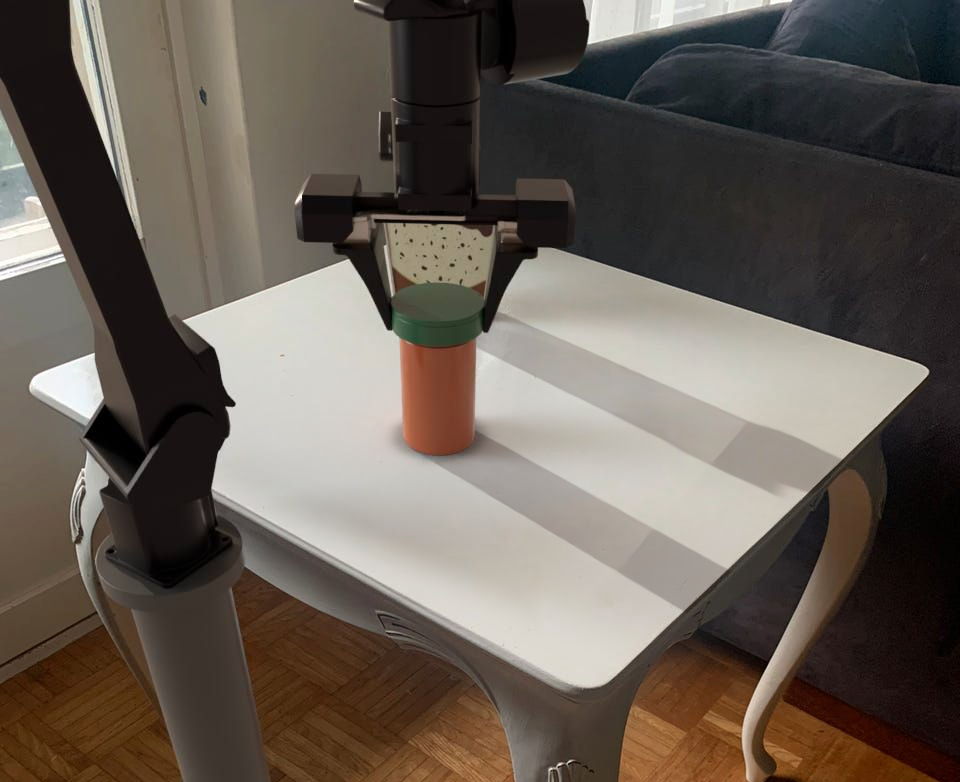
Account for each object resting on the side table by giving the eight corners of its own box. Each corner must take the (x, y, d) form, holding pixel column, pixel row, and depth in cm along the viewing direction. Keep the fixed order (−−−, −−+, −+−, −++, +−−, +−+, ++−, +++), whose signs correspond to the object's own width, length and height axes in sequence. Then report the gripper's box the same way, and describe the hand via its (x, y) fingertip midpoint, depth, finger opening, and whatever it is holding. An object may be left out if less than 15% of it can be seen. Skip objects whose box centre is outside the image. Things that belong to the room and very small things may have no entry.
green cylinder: (486, 307, 73) (486, 283, 72) (484, 348, 68) (484, 323, 67) (395, 305, 73) (394, 280, 72) (387, 345, 68) (386, 320, 67)
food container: (516, 300, 97) (521, 197, 90) (497, 324, 93) (501, 218, 86) (404, 281, 100) (401, 180, 93) (381, 304, 95) (376, 200, 89)
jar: (448, 463, 74) (448, 334, 67) (388, 440, 76) (382, 313, 69) (488, 431, 78) (491, 306, 70) (430, 411, 80) (428, 287, 73)
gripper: (574, 68, 66) (557, 288, 77) (306, 61, 66) (327, 283, 77) (585, 111, 58) (565, 351, 69) (280, 104, 58) (307, 345, 68)
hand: (438, 329), depth 71 cm, fingers closed on green cylinder, 7 cm apart
